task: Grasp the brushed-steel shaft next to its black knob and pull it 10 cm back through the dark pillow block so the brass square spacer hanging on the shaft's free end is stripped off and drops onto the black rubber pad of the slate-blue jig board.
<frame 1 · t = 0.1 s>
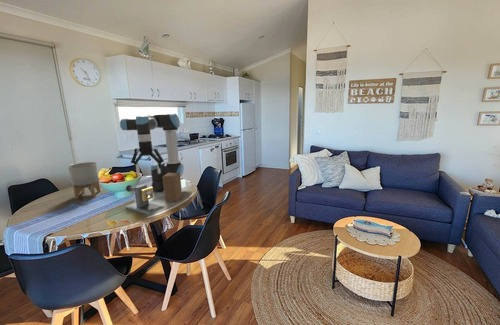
hand: (148, 173, 156), 28 cm above the table, fingers open, 13 cm apart
wooden block: (173, 199, 187), on the table
planter: (88, 195, 200), on the table
spacer: (148, 198, 168), point 7 cm above the table, touching shaft
jig: (145, 207, 173), on the table
shaft: (139, 190, 172), point 12 cm above the table, slide at 0.0 cm, touching spacer
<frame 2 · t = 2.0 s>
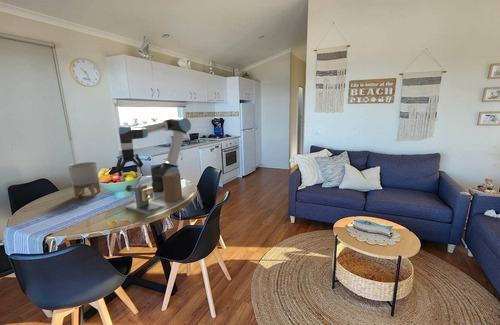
hand: (131, 177, 173), 21 cm above the table, fingers open, 13 cm apart
nothing on the table moved.
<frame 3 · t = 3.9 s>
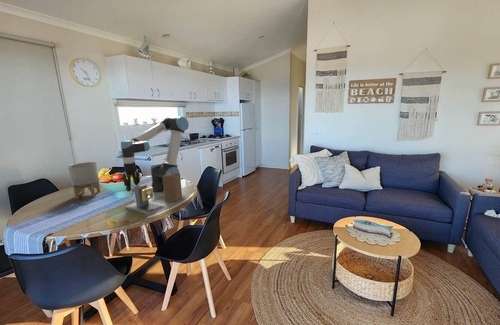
hand: (133, 193, 176), 9 cm above the table, fingers closed on shaft, 3 cm apart
shaft: (139, 190, 172), point 12 cm above the table, slide at 0.0 cm, touching gripper, spacer
everything else where it was.
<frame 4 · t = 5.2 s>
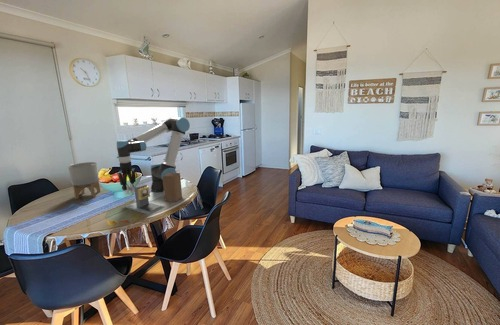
hand: (129, 192, 178), 9 cm above the table, fingers closed on shaft, 3 cm apart
spacer: (144, 197, 170), point 7 cm above the table, touching shaft
shaft: (135, 189, 174), point 12 cm above the table, slide at 4.7 cm, touching gripper, spacer
everything else where it was.
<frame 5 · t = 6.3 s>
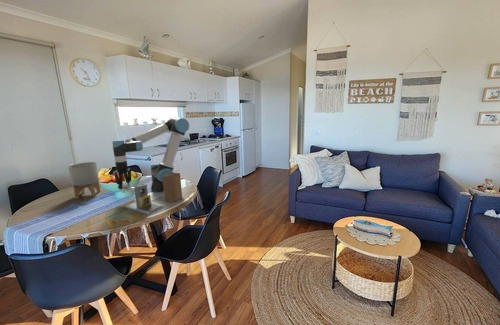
hand: (125, 191, 181), 9 cm above the table, fingers closed on shaft, 3 cm apart
spacer: (146, 205, 172), point 2 cm above the table, touching jig
shaft: (131, 188, 176), point 12 cm above the table, slide at 9.6 cm, touching gripper
everything else where it was.
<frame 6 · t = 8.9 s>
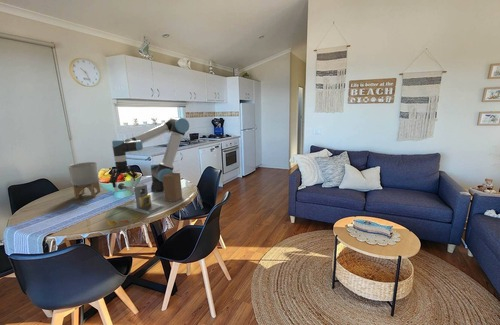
hand: (125, 188, 180), 11 cm above the table, fingers open, 13 cm apart
shaft: (130, 188, 176), point 12 cm above the table, slide at 9.8 cm
everything else where it was.
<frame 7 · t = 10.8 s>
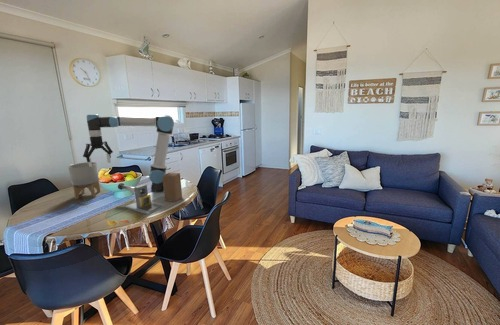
hand: (100, 164, 180), 29 cm above the table, fingers open, 13 cm apart
nothing on the table moved.
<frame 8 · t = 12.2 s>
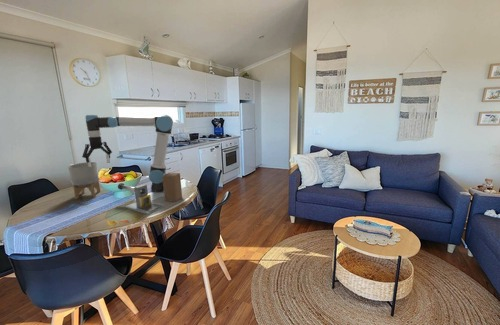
hand: (99, 164, 181), 29 cm above the table, fingers open, 13 cm apart
nothing on the table moved.
at the end: shaft slide at 9.8 cm; spacer point 1.5 cm above the table; spacer 1.4 cm from the jig (horizontally) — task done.
